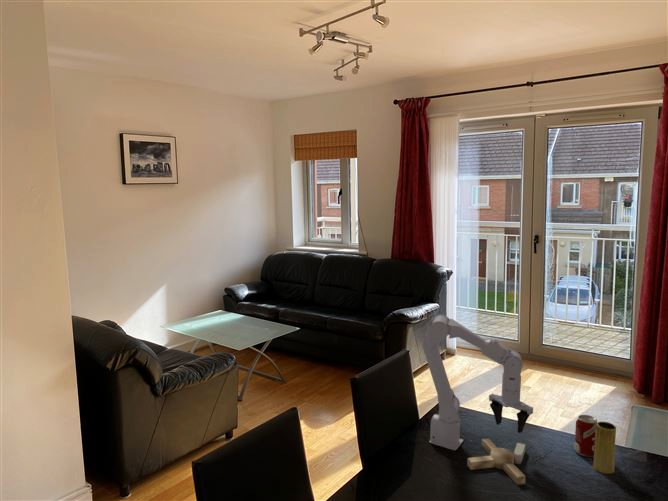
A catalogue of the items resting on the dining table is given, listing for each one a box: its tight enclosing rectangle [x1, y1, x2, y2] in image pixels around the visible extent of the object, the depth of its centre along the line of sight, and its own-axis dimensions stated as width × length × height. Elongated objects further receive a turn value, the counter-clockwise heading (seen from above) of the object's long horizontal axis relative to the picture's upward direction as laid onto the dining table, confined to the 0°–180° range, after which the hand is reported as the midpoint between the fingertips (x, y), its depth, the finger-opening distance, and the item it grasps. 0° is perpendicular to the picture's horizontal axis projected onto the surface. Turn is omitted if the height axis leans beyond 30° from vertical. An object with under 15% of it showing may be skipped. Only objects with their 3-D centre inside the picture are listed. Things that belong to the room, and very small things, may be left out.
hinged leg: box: [512, 442, 526, 465], centre depth 161 cm, size 9×2×3 cm, turn 150°
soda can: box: [573, 414, 598, 458], centre depth 163 cm, size 7×7×12 cm
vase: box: [592, 421, 617, 475], centre depth 154 cm, size 6×6×14 cm
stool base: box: [466, 438, 526, 486], centre depth 157 cm, size 15×22×4 cm, turn 10°
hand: (509, 427), depth 164 cm, fingers open, 7 cm apart
